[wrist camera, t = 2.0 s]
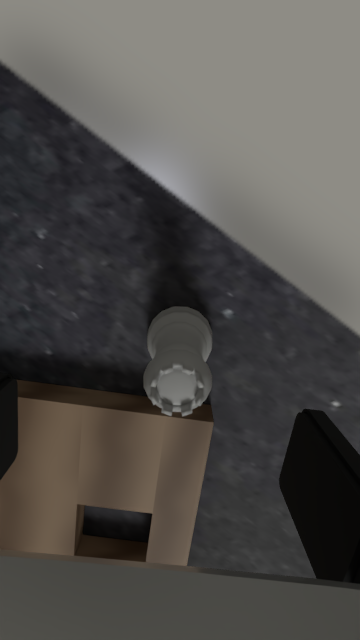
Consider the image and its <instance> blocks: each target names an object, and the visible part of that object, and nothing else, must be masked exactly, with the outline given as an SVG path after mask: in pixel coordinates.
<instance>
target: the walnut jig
mask: <svg viewBox="0 0 360 640" xmlns="http://www.w3.org/2000/svg"><path fill="white" fill-rule="evenodd" d="M17 383H18V453H17V457H16V459H15V461H14V462H13V464H12V465H11V466H10V468H9V469H8V471H7V472H6V473H5V475H4V476H3V478H2V479H1V480H0V550H12V551H24V552H36V553H47V554H59V555H71V556H82V557H93V558H104V559H115V560H126V561H137V562H148V563H159V564H170V565H180V566H187V561H188V556H189V551H190V545H191V540H192V535H193V530H194V524H195V519H196V514H197V508H198V503H199V498H200V493H201V487H202V482H203V477H204V471H205V466H206V461H207V456H208V450H209V445H210V440H211V434H212V429H213V424H214V421H213V415H212V408H211V405H206V404H201V406H198V407H197V408H195V409H192V414H189V415H186V416H183V417H182V413H181V412H172V416H169V415H166V414H164V413H161V411H162V408H159V407H158V406H157V405H156V404H155V405H153V403H152V401H151V400H150V399H149V398H148V397H145V396H138V395H130V394H123V393H115V392H107V391H100V390H92V389H85V388H77V387H69V386H62V385H54V384H47V383H39V382H31V381H24V380H17ZM85 505H88V506H96V507H104V508H112V509H120V510H128V511H136V512H144V513H152V517H151V525H150V532H149V539H148V543H146V542H137V541H129V540H121V539H113V538H105V537H97V536H88V535H83V523H84V509H85Z"/></svg>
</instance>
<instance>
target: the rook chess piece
mask: <svg viewBox="0 0 360 640" xmlns="http://www.w3.org/2000/svg"><path fill="white" fill-rule="evenodd" d="M147 348H148V350H149V353H150V355H151V357H152V360H151V361H150V362H149V363H148V365H147V368H146V370H145V372H144V375H143V379H144V389H145V391H146V393H147V395H148V398H149V399H150V400H151V401H152V403H153V405H155V404H156V405H157V406H158V407H159V408H162V411H161V413H164V414H166V415H169V416H172V412H181V413H182V417H183V416H186V415H189V414H192V409H195V408H197V407H198V406H201V404H202V403H203V402H204V401H205V400H206V399H207V397H208V395H209V393H210V391H211V389H212V375H211V372H210V370H209V367H208V365H207V363H206V360H207V358H208V356H209V354H210V352H211V350H212V330H211V328H210V325H209V322H208V320H207V319H206V318H205V317H204V316H203V315H202V314H201V313H200V312H198V311H196V310H194V309H191V308H189V307H177V306H174V307H171V308H169V309H166V310H163V311H161V312H160V313H159V314H158V315H157V316H156V317H155V318H154V319H153V320H152V322H151V325H150V327H149V329H148V335H147Z"/></svg>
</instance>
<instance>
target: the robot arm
mask: <svg viewBox="0 0 360 640" xmlns="http://www.w3.org/2000/svg"><path fill="white" fill-rule="evenodd" d="M17 453H18V383H17V380H16V379H13V377H12V375H11V374H6V373H0V480H1V479H2V478H3V476H4V475H5V473H6V472H7V471H8V469H9V468H10V466H11V465H12V464H13V462H14V461H15V459H16V457H17ZM279 484H280V489H281V492H282V494H283V497H284V499H285V502H286V504H287V506H288V509H289V511H290V514H291V516H292V519H293V521H294V524H295V526H296V529H297V531H298V534H299V536H300V539H301V541H302V543H303V546H304V548H305V551H306V553H307V556H308V558H309V561H310V563H311V566H312V568H313V571H314V573H315V576H316V578H317V579H314V578H304V577H294V576H284V575H273V574H263V573H253V572H243V571H233V570H223V569H213V568H202V567H191V566H180V565H170V564H159V563H148V562H137V561H126V560H115V559H104V558H93V557H82V556H71V555H59V554H47V553H36V552H24V551H12V550H0V640H360V455H359V454H358V453H357V451H356V450H355V449H354V448H353V447H352V445H351V444H350V443H349V442H348V440H347V439H346V438H345V437H344V436H343V434H342V433H341V432H340V431H339V430H338V428H337V427H336V426H335V425H334V424H333V422H332V421H331V420H330V419H329V417H328V416H327V415H326V414H325V413H324V412H323V411H319V410H311V409H304V410H303V411H302V413H300V412H299V413H298V414H297V416H296V419H295V423H294V427H293V430H292V434H291V437H290V441H289V445H288V448H287V452H286V456H285V459H284V463H283V466H282V470H281V474H280V478H279Z"/></svg>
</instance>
